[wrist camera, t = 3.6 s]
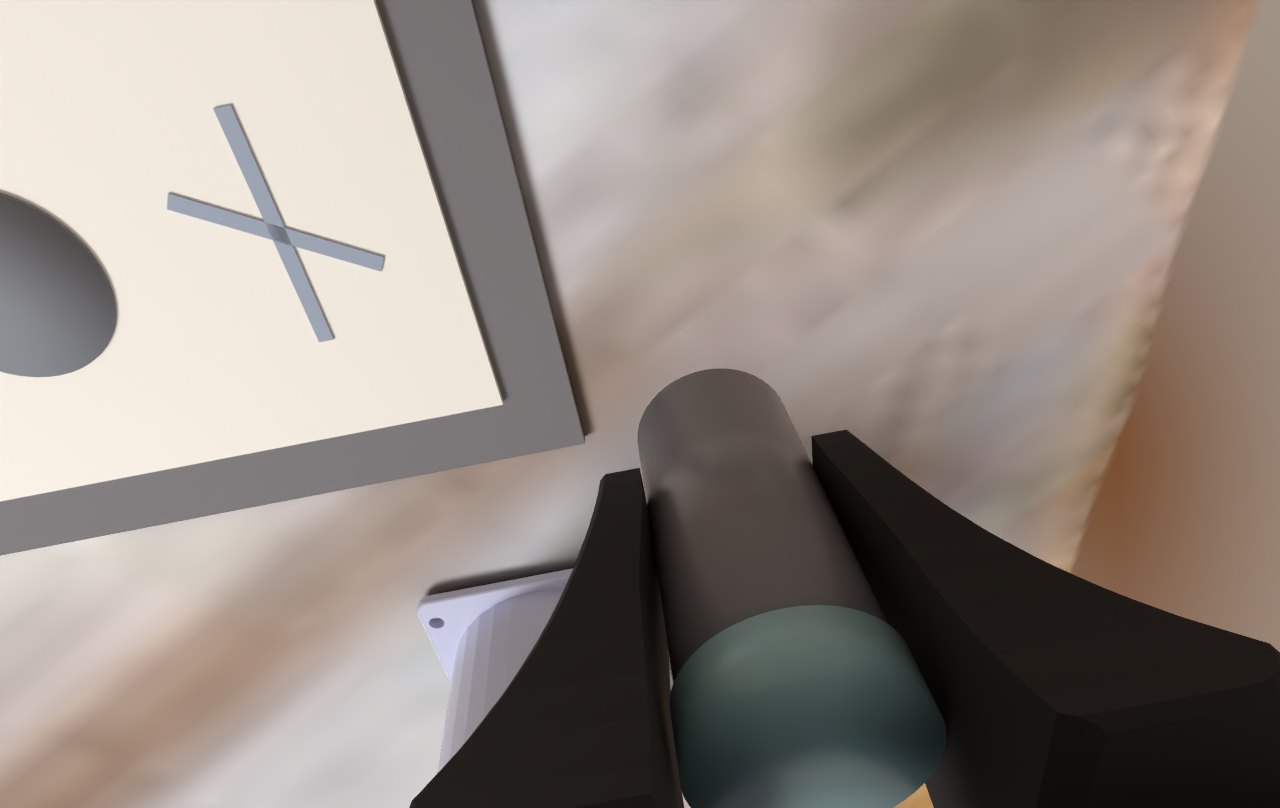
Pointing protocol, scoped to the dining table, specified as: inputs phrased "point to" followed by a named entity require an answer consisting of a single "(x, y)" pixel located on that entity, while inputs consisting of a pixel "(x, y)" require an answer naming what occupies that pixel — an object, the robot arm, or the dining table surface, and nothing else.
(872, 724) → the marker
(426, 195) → the grey framed board
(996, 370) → the dining table surface
